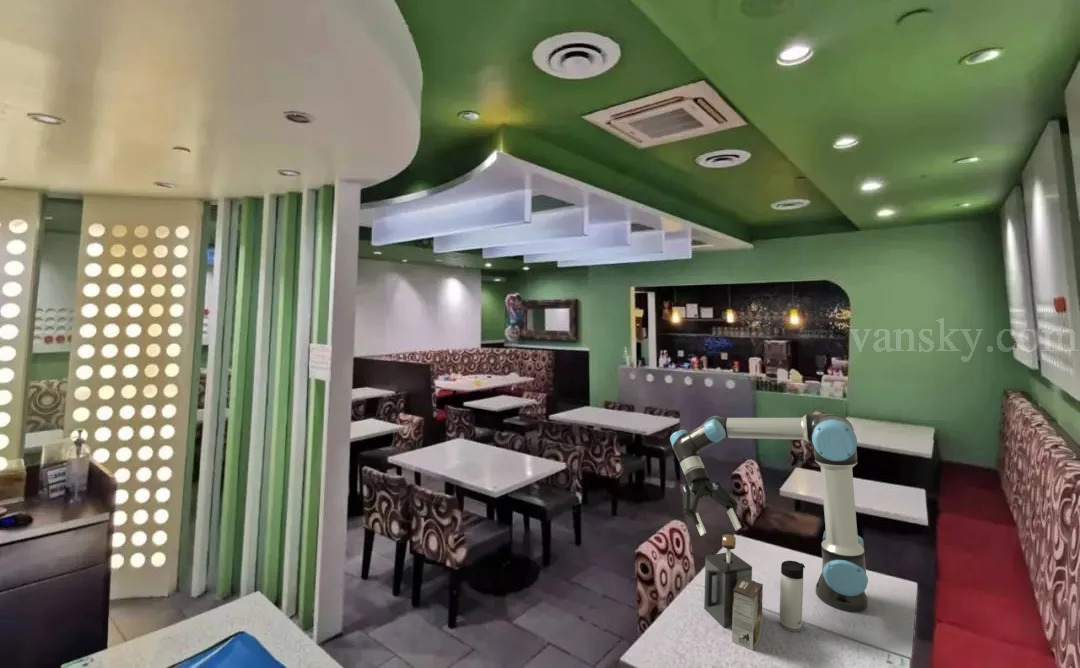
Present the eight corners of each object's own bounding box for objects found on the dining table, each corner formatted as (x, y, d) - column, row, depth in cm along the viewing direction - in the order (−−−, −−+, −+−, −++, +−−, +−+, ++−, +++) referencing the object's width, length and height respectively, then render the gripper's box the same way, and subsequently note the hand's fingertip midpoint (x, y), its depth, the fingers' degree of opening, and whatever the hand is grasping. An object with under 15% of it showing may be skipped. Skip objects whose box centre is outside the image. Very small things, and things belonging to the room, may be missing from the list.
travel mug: (805, 633, 148) (807, 570, 147) (782, 630, 149) (784, 567, 148) (799, 621, 154) (801, 559, 153) (776, 618, 155) (778, 557, 154)
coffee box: (740, 626, 151) (741, 576, 151) (762, 635, 147) (763, 583, 146) (730, 641, 144) (732, 588, 143) (753, 651, 140) (755, 597, 139)
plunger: (729, 600, 161) (731, 530, 160) (745, 613, 154) (747, 541, 153) (709, 603, 159) (711, 533, 158) (724, 617, 152) (726, 544, 151)
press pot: (729, 603, 163) (731, 551, 162) (750, 622, 153) (752, 566, 152) (697, 610, 159) (698, 556, 158) (716, 629, 150) (718, 572, 149)
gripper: (719, 473, 178) (746, 531, 165) (659, 480, 171) (683, 540, 157) (729, 463, 173) (758, 522, 159) (668, 470, 166) (693, 532, 152)
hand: (721, 531), depth 158 cm, fingers open, 13 cm apart
